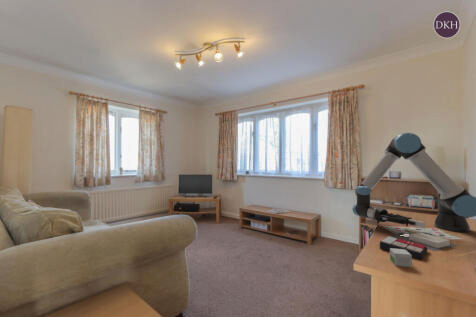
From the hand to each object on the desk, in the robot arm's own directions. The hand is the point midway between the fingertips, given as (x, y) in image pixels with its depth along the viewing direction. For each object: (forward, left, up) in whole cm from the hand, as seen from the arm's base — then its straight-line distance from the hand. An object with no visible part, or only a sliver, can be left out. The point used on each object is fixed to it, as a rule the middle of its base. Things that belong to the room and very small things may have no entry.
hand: (423, 225), depth 107 cm
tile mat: (0, -1, -8) cm, 9 cm away
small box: (+34, +10, -9) cm, 37 cm away
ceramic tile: (0, -4, -7) cm, 8 cm away
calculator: (+20, +3, -9) cm, 22 cm away
